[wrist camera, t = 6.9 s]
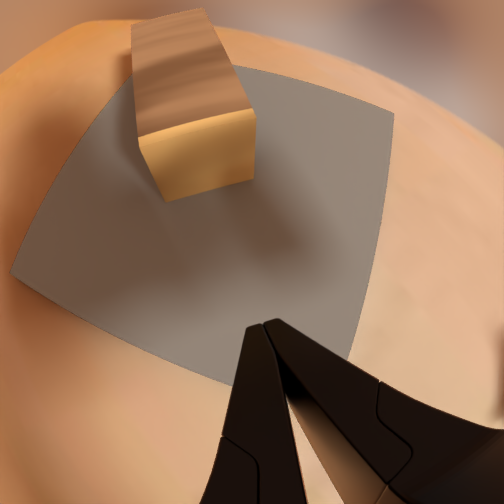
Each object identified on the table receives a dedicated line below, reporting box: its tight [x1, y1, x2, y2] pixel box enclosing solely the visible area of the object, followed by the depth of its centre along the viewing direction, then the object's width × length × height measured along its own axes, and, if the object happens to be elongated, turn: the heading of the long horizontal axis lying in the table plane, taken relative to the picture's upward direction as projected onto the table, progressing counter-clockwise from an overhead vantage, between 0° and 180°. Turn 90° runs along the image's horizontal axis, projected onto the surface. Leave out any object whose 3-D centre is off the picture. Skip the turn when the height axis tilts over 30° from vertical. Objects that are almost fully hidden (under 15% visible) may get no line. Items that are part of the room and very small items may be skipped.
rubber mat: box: [10, 65, 394, 404], centre depth 17 cm, size 20×20×1 cm
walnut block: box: [131, 8, 257, 202], centre depth 16 cm, size 5×5×12 cm
